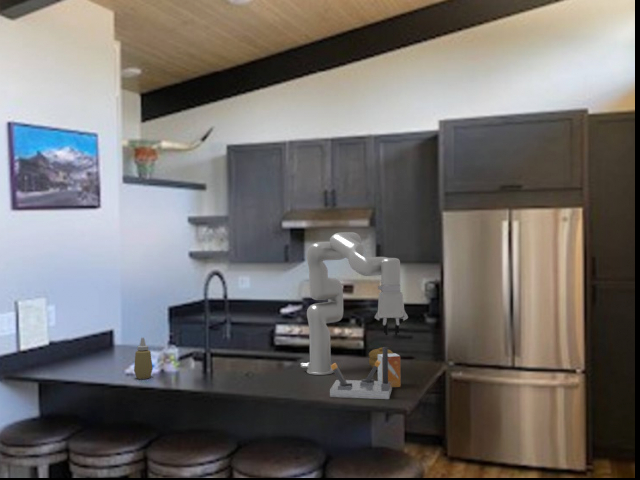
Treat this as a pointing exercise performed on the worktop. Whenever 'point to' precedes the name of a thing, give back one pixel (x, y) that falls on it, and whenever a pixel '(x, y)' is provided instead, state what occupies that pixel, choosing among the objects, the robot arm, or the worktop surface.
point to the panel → (360, 389)
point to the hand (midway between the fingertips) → (391, 334)
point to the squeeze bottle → (143, 361)
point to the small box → (391, 369)
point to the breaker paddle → (373, 371)
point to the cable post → (385, 370)
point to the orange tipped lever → (338, 374)
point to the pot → (376, 356)
